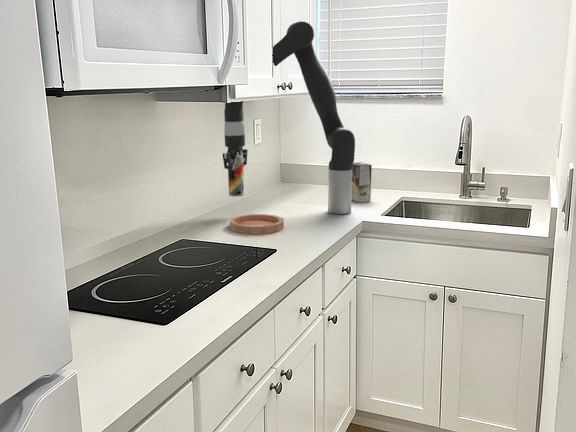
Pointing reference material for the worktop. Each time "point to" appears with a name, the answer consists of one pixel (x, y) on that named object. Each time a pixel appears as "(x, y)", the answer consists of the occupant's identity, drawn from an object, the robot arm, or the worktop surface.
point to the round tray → (256, 224)
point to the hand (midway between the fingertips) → (236, 178)
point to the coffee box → (361, 182)
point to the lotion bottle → (237, 177)
